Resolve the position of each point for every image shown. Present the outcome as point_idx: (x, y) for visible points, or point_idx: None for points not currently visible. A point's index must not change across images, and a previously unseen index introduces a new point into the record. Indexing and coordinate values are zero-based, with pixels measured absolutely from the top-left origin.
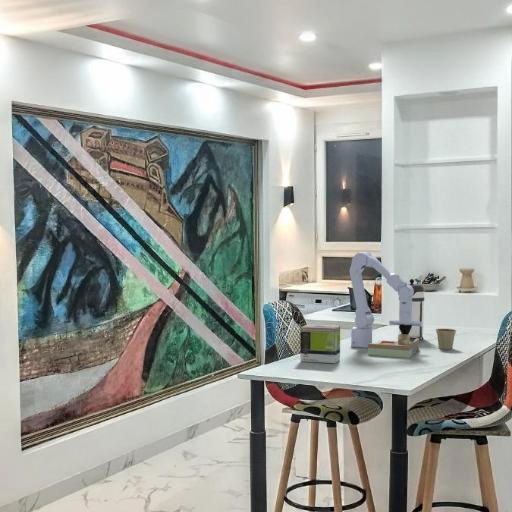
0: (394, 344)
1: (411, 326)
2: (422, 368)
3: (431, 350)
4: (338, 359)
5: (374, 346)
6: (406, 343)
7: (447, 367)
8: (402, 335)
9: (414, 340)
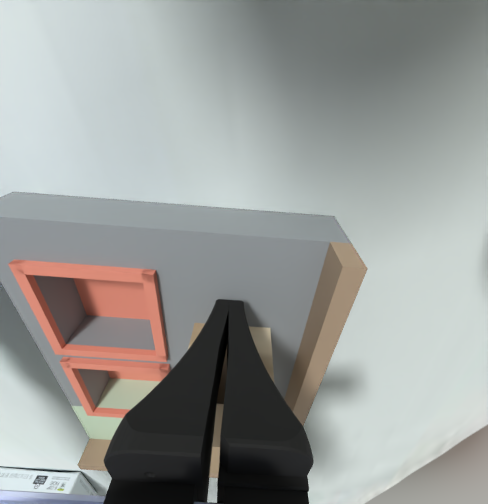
0: (168, 352)
1: (303, 489)
2: (316, 495)
3: (433, 227)
4: (83, 484)
5: None
6: None
7: (388, 484)
8: (217, 446)
9: (311, 365)
